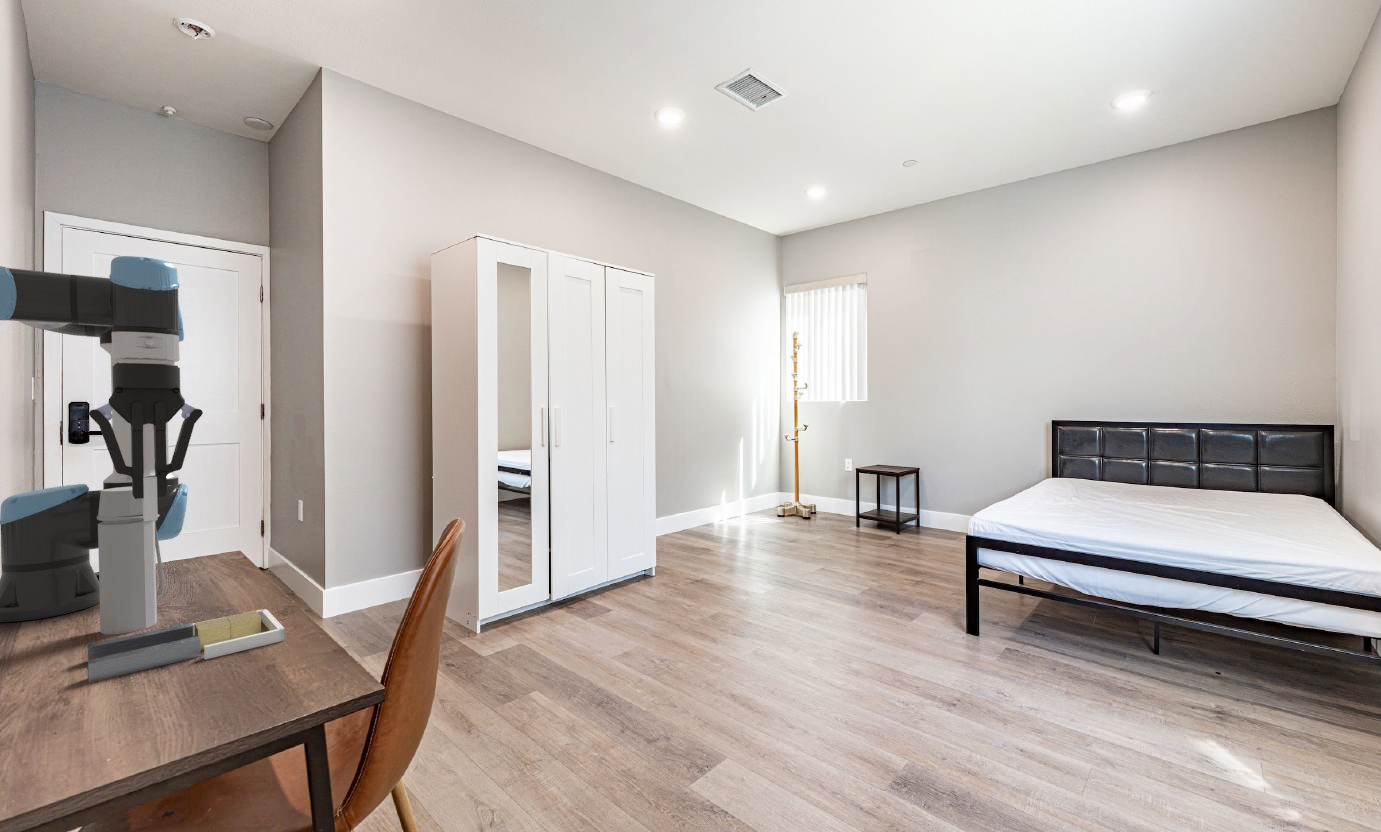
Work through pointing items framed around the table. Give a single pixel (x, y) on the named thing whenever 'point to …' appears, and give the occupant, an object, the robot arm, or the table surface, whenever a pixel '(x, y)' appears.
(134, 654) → the slot rail
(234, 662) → the table surface
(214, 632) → the tan cube block
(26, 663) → the table surface
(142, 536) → the water bottle
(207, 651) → the white rectangular frame
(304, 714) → the table surface
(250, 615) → the khaki cube block
